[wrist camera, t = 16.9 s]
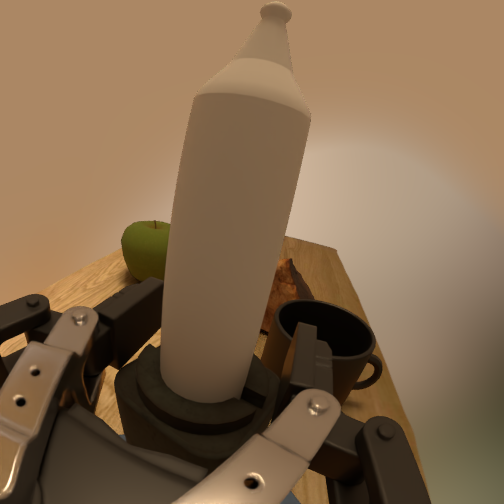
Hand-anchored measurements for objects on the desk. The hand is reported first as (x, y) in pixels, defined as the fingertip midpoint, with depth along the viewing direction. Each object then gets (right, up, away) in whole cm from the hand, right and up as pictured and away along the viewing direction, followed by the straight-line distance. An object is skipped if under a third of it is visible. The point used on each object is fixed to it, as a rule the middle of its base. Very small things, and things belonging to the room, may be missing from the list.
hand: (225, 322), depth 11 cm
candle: (-3, -14, +2) cm, 14 cm away
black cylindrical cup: (+7, -12, +15) cm, 20 cm away
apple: (-15, -2, +32) cm, 35 cm away
